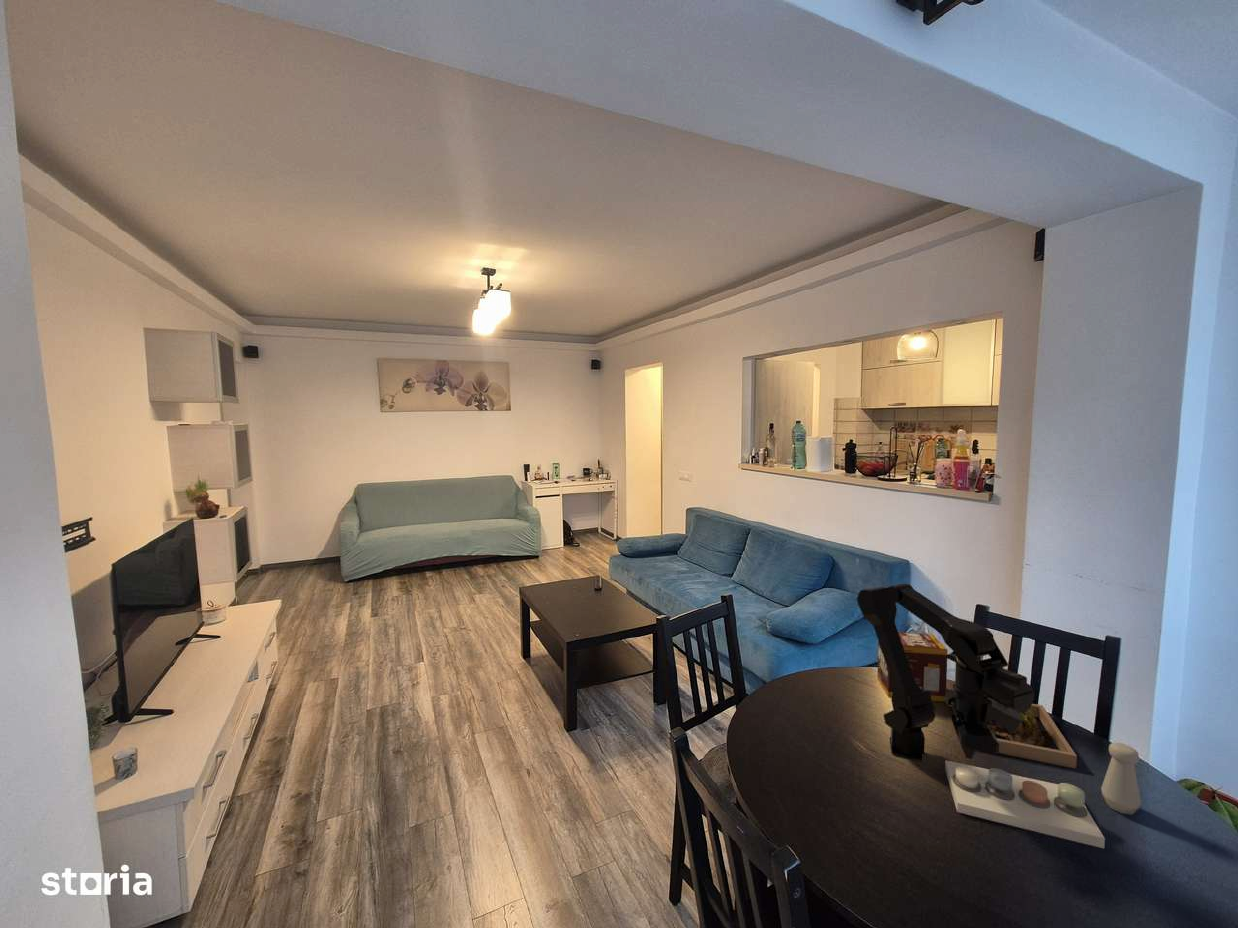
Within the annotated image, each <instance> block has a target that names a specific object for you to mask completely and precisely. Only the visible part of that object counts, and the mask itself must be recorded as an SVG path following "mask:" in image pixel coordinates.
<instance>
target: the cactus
mask: <svg viewBox="0 0 1238 928" xmlns="http://www.w3.org/2000/svg"><path fill="white" fill-rule="evenodd" d="M1018 713H1019V712H1018ZM1019 714H1020V716H1021V718H1022V719H1023V721H1022V723H1021V725H1020V727H1019V728H1018V730H1017V732H1016V733H1012V732H1010V731H1009V730H1008V729H1006V728H1004V727H1001V726H999V725H997V724H995V723H994V722H992V726H991V725H986V726H987V728H988V729H990V730H991V731H992V732H993V733H994V734H995V735H998V736H1001V737H1002V738H1005V740H1008V741H1013V742H1019V743H1024V744H1029V745H1034V746H1039V747H1044V748H1048V747H1049V746H1050V745H1051V744H1052V743H1053V739H1052V737H1051V736H1050V734H1049V732H1048V731H1047V730H1046V728H1045V727H1044V726H1043V725H1041V722H1040V723H1039V722H1038V721H1037V719H1036V718H1037V717H1036V716H1035V715H1034V714H1033V713H1032V711H1031V710H1029V709H1028V710H1027V711H1026V712H1024V713H1019Z"/></svg>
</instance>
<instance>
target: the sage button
mask: <svg viewBox="0 0 1238 928" xmlns="http://www.w3.org/2000/svg"><path fill="white" fill-rule="evenodd" d="M1058 797H1059V799H1060V800H1062V801H1063V802H1065V803H1067V804H1069V805H1071V806H1075V807H1083V806H1084V805H1085V802H1086V801H1085V799H1086V794H1085V792H1084V791H1083V790H1082V789H1081V788H1080V787H1078V786H1076V785H1073V784H1071V783H1067V782H1060V783H1058Z"/></svg>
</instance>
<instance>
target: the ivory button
mask: <svg viewBox="0 0 1238 928" xmlns="http://www.w3.org/2000/svg"><path fill="white" fill-rule="evenodd" d="M978 777H979V776H978V774H977V773H976V772H975V771H974V770H972V769H970V768H967V767H963V766H960V767H957V768H956V777H955V779H956V781H957V782H958V783H959V784H961V785H962V786H965V787H967V788H977V787H978Z"/></svg>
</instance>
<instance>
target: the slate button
mask: <svg viewBox="0 0 1238 928" xmlns="http://www.w3.org/2000/svg"><path fill="white" fill-rule="evenodd" d="M1010 774H1011V773H1009V772H1007V771H1005V770H1004V769H1002V768H1001V769H1000V768H996V767H993V768H992V767H991V768H989V773H988V781H989V783H990V784H991V785H992V786H994V787H996V788H998V789H1000V790H1005V791H1009V790H1011V789H1012V780H1013V778H1012V776H1011V775H1010Z"/></svg>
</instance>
